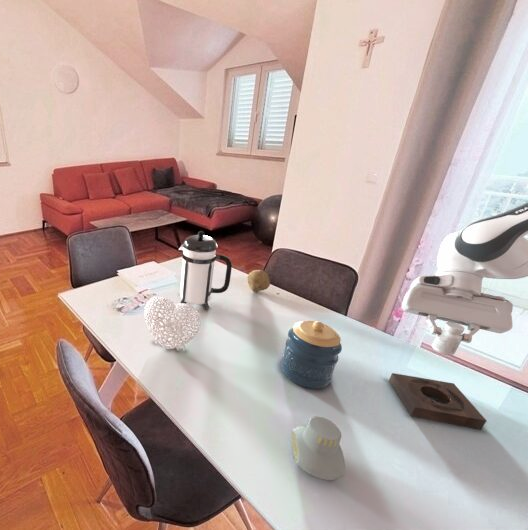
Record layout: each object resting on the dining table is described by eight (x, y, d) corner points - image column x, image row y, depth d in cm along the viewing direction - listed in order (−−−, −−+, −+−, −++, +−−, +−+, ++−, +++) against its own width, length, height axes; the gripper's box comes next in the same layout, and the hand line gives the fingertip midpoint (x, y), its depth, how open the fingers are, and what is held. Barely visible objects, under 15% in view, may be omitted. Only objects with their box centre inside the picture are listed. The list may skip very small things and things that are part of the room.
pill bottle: (451, 348, 82) (464, 324, 79) (456, 358, 79) (469, 332, 76) (429, 342, 84) (441, 318, 81) (433, 352, 81) (445, 327, 78)
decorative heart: (201, 347, 101) (207, 301, 94) (190, 367, 93) (195, 319, 86) (151, 330, 109) (153, 287, 102) (137, 347, 101) (137, 302, 94)
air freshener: (343, 492, 61) (358, 458, 57) (297, 480, 63) (308, 447, 59) (327, 442, 71) (339, 410, 67) (287, 433, 73) (296, 402, 69)
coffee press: (193, 316, 118) (201, 241, 105) (168, 297, 130) (172, 228, 118) (227, 304, 125) (238, 233, 113) (200, 288, 138) (207, 222, 126)
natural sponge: (264, 287, 138) (269, 266, 134) (270, 297, 130) (275, 276, 126) (243, 286, 139) (247, 265, 135) (247, 296, 131) (251, 274, 127)
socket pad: (449, 391, 84) (453, 383, 83) (481, 429, 74) (487, 420, 72) (388, 381, 88) (392, 372, 86) (410, 416, 77) (415, 407, 76)
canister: (304, 354, 98) (318, 305, 91) (341, 383, 87) (360, 331, 79) (270, 363, 94) (281, 313, 87) (304, 395, 83) (320, 341, 76)
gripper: (505, 302, 80) (501, 354, 77) (403, 283, 91) (395, 328, 87) (521, 295, 75) (517, 350, 72) (411, 275, 85) (403, 322, 82)
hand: (449, 337), depth 79 cm, fingers closed on pill bottle, 4 cm apart
